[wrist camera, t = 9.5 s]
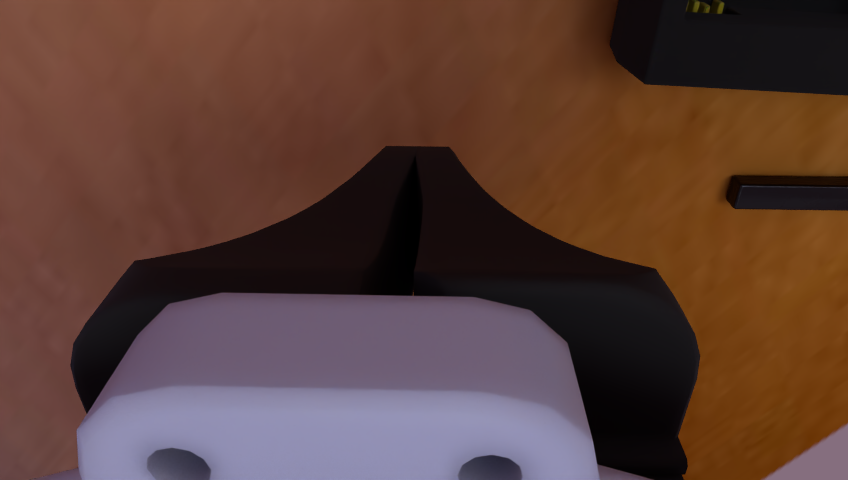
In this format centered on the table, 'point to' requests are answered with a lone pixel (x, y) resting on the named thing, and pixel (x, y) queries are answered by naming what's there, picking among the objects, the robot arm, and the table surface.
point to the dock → (788, 193)
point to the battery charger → (735, 44)
